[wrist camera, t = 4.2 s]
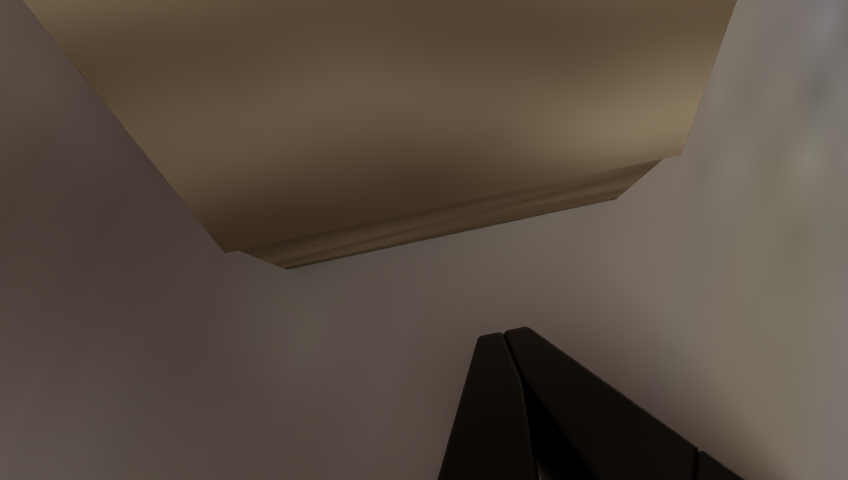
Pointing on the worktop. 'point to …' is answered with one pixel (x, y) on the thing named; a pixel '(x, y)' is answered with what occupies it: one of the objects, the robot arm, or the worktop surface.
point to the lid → (386, 98)
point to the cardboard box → (451, 218)
